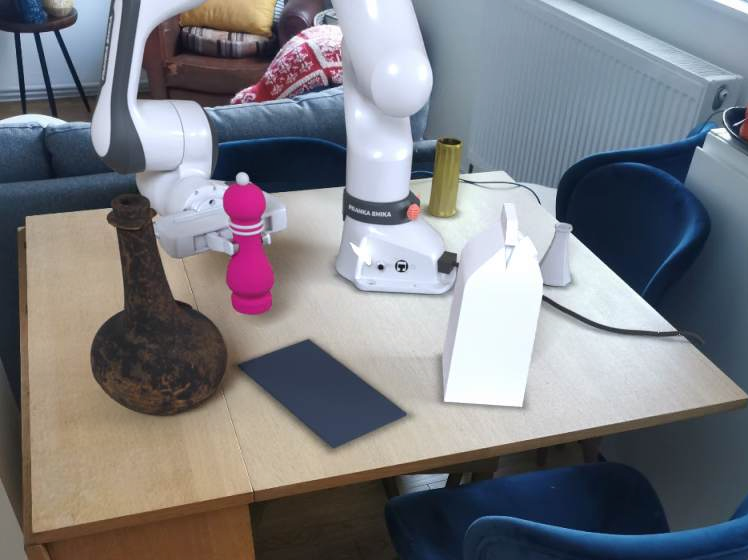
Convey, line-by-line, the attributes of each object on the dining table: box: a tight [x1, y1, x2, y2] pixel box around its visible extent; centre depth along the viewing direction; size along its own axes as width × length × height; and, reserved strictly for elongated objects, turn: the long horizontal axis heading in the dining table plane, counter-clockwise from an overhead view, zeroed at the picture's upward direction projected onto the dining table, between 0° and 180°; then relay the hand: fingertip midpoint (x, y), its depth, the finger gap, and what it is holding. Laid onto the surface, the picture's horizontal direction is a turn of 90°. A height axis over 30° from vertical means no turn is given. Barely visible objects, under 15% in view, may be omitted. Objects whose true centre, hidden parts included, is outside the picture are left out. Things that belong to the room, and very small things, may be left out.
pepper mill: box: [223, 171, 275, 316], centre depth 110 cm, size 7×7×20 cm
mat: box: [237, 338, 407, 449], centre depth 111 cm, size 24×13×1 cm, turn 39°
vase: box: [427, 136, 464, 218], centre depth 156 cm, size 6×6×14 cm
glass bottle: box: [89, 193, 228, 417], centre depth 98 cm, size 18×18×28 cm
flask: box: [538, 222, 574, 287], centre depth 138 cm, size 7×7×10 cm
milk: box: [441, 202, 544, 408], centre depth 106 cm, size 12×12×26 cm
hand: (251, 245), depth 110 cm, fingers closed on pepper mill, 4 cm apart
